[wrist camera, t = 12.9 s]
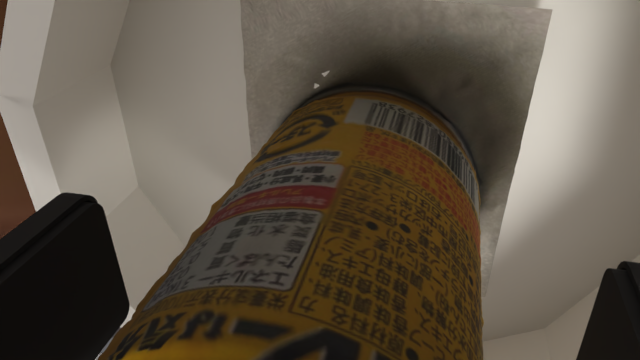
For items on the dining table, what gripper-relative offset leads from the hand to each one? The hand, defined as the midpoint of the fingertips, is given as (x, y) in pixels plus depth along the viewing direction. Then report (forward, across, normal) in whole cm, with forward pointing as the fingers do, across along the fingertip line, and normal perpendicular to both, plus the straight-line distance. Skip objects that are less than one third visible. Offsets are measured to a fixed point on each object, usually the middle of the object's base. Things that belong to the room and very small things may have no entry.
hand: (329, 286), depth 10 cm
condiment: (+6, 0, 0) cm, 6 cm away
